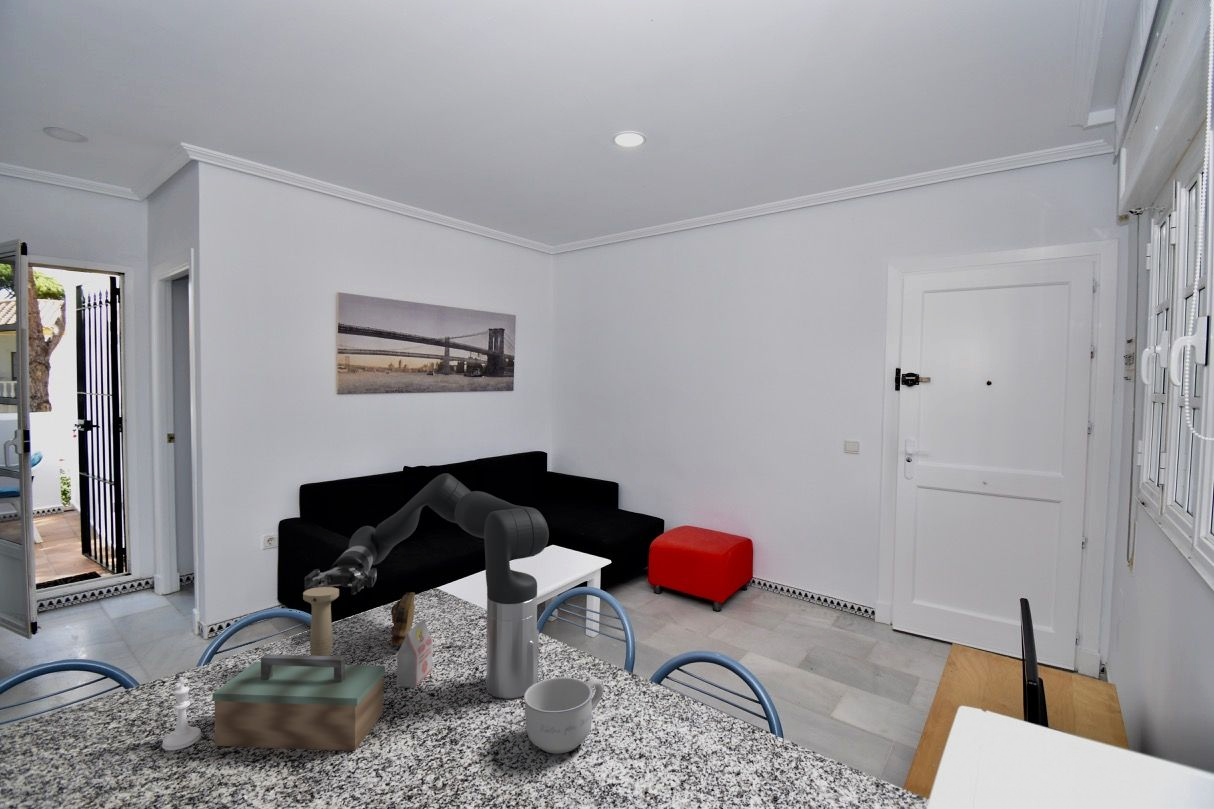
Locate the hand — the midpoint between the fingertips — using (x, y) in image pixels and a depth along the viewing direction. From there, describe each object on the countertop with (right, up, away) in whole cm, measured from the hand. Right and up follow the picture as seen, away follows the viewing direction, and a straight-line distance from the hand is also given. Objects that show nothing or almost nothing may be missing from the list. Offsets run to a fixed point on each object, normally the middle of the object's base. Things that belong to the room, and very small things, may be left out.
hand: (332, 590), depth 121 cm
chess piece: (-8, -13, -33) cm, 36 cm away
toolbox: (+10, -13, -25) cm, 30 cm away
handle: (+2, -12, -9) cm, 15 cm away
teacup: (+52, -14, -31) cm, 62 cm away
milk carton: (+22, -13, -13) cm, 28 cm away
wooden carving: (+14, -12, +3) cm, 19 cm away
